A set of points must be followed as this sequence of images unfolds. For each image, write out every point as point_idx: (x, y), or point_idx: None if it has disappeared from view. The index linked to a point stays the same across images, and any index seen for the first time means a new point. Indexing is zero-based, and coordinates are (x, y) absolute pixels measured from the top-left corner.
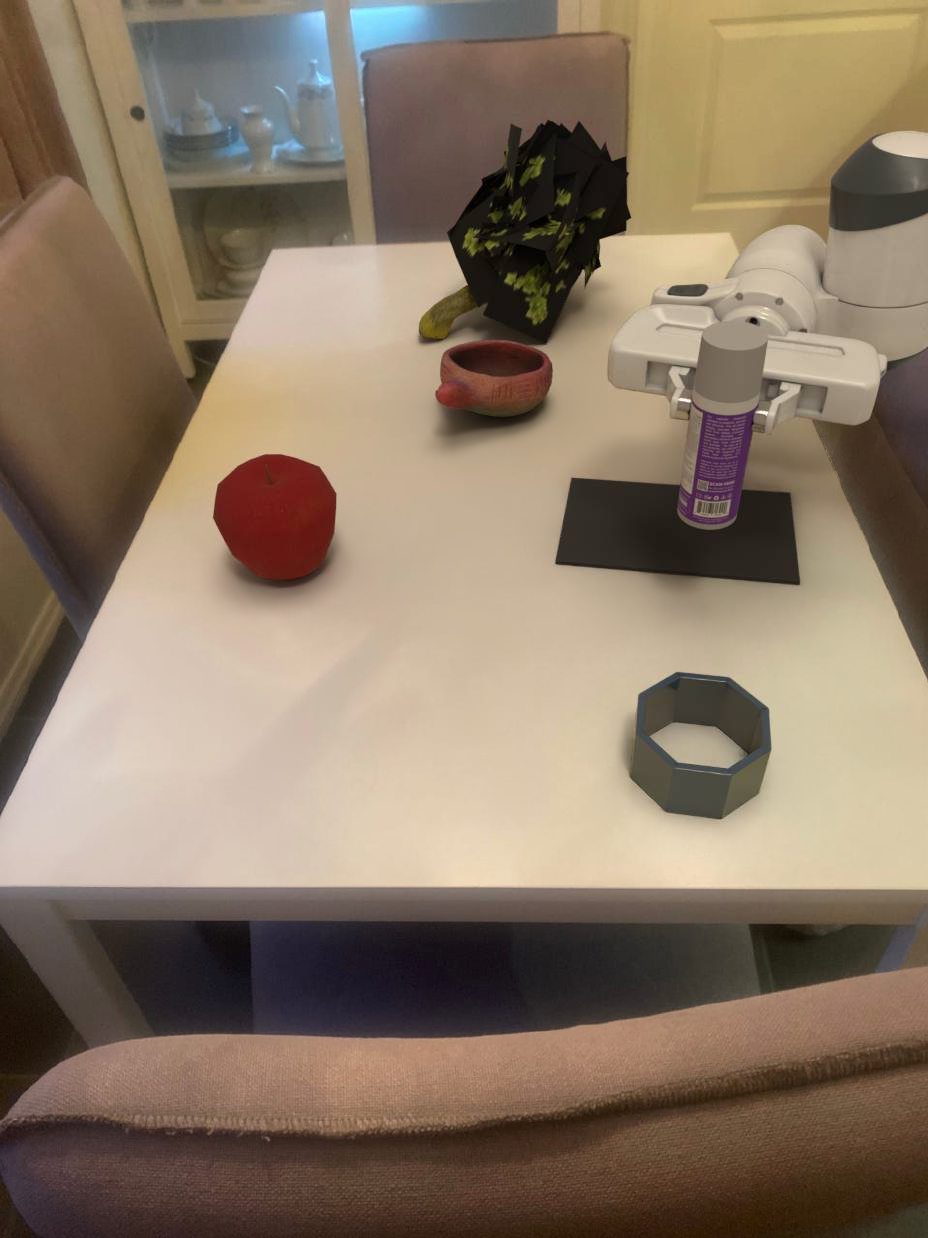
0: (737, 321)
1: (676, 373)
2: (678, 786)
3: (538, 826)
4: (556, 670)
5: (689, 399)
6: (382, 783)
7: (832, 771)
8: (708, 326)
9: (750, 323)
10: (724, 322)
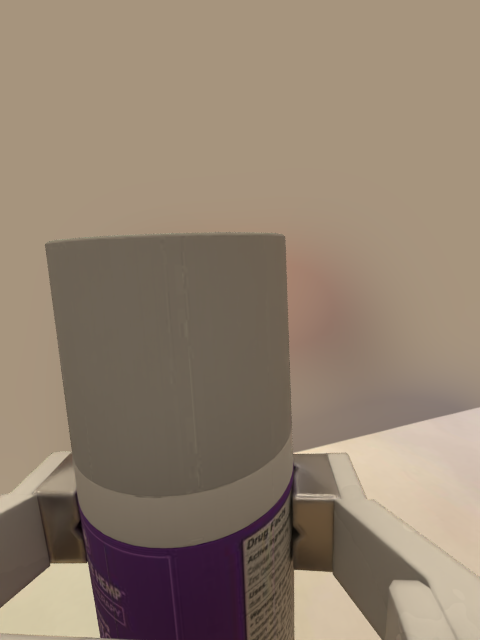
0: (149, 234)
1: (442, 582)
2: None
3: None
4: (374, 634)
5: (295, 456)
6: (402, 476)
7: (77, 584)
8: (274, 234)
9: (86, 238)
10: (213, 234)
